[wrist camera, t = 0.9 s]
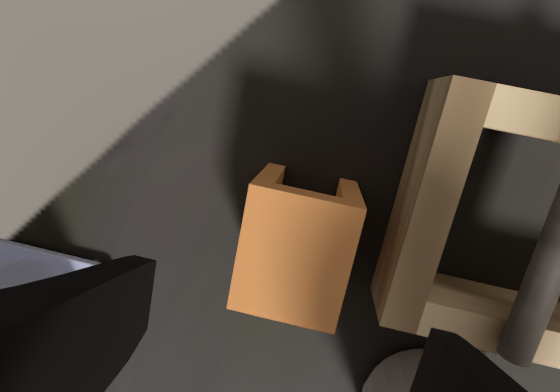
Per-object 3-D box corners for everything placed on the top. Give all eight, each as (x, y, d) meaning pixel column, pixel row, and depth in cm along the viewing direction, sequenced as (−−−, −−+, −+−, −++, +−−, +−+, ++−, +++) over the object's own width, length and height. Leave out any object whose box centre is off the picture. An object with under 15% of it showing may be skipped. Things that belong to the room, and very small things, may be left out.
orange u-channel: (250, 258, 20) (226, 308, 15) (269, 162, 19) (249, 184, 14) (332, 277, 20) (334, 334, 15) (356, 181, 19) (367, 209, 14)
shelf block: (370, 287, 20) (383, 343, 15) (428, 79, 17) (465, 72, 13) (578, 335, 19) (656, 408, 14) (669, 127, 16) (800, 137, 12)
